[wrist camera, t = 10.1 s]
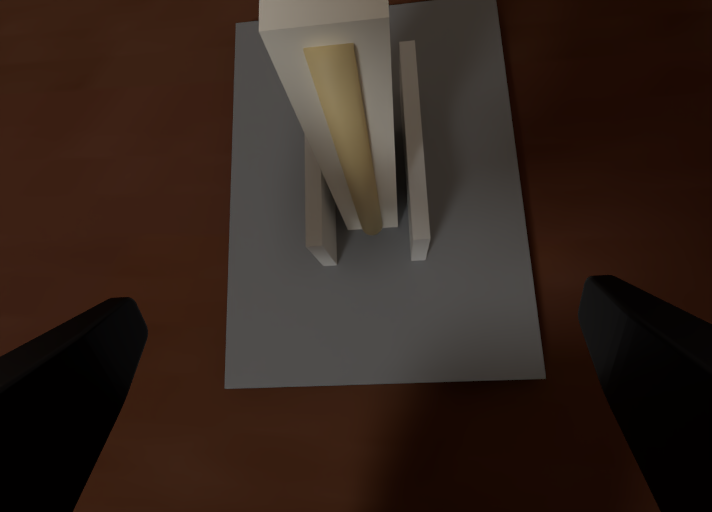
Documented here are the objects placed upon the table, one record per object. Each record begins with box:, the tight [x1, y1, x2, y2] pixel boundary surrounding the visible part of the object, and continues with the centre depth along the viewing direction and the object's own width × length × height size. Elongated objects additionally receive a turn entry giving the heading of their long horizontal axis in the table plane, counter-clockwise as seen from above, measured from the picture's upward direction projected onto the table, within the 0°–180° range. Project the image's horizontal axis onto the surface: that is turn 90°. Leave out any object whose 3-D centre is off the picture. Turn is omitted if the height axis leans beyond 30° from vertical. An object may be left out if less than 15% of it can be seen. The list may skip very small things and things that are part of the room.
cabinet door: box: [259, 0, 398, 235], centre depth 14 cm, size 7×2×12 cm, turn 2°
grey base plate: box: [225, 0, 546, 389], centre depth 18 cm, size 18×13×4 cm
